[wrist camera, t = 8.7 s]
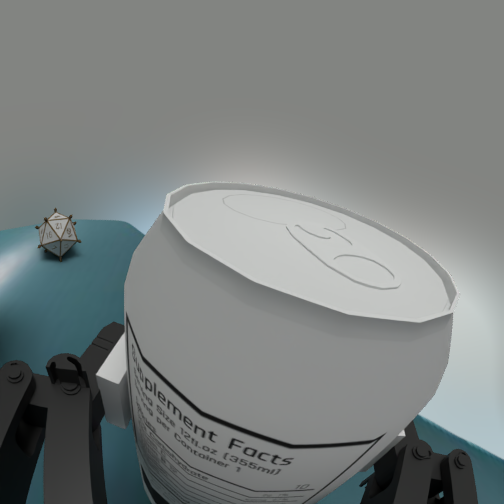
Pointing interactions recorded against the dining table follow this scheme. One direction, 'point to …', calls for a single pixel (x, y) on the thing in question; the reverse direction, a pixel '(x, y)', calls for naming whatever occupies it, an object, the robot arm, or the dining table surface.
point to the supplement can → (275, 344)
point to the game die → (57, 234)
